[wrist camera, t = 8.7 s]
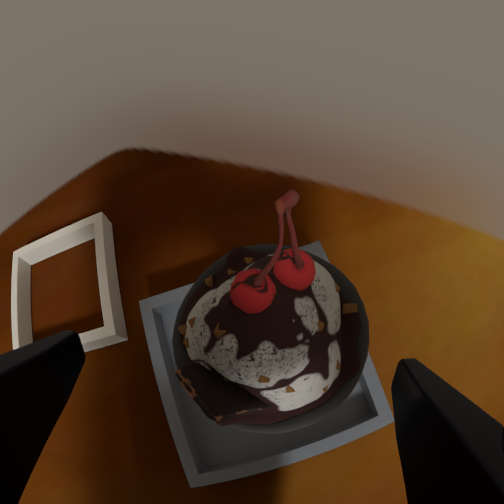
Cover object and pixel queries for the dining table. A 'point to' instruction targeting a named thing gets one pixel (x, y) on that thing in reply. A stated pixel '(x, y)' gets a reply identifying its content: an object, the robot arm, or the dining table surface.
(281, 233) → the sundae
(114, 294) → the white square frame
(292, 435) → the tray
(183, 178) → the dining table surface
